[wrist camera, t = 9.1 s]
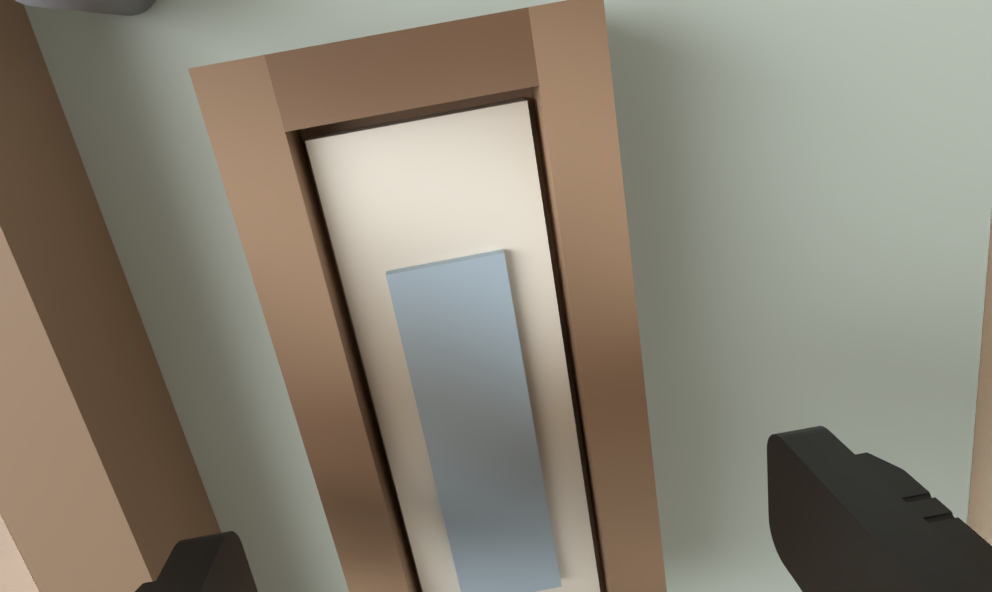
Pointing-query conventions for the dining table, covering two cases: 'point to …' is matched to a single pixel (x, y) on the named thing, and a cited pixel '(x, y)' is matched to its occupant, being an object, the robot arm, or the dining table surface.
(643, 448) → the frame
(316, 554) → the wall panel
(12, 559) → the dining table surface
